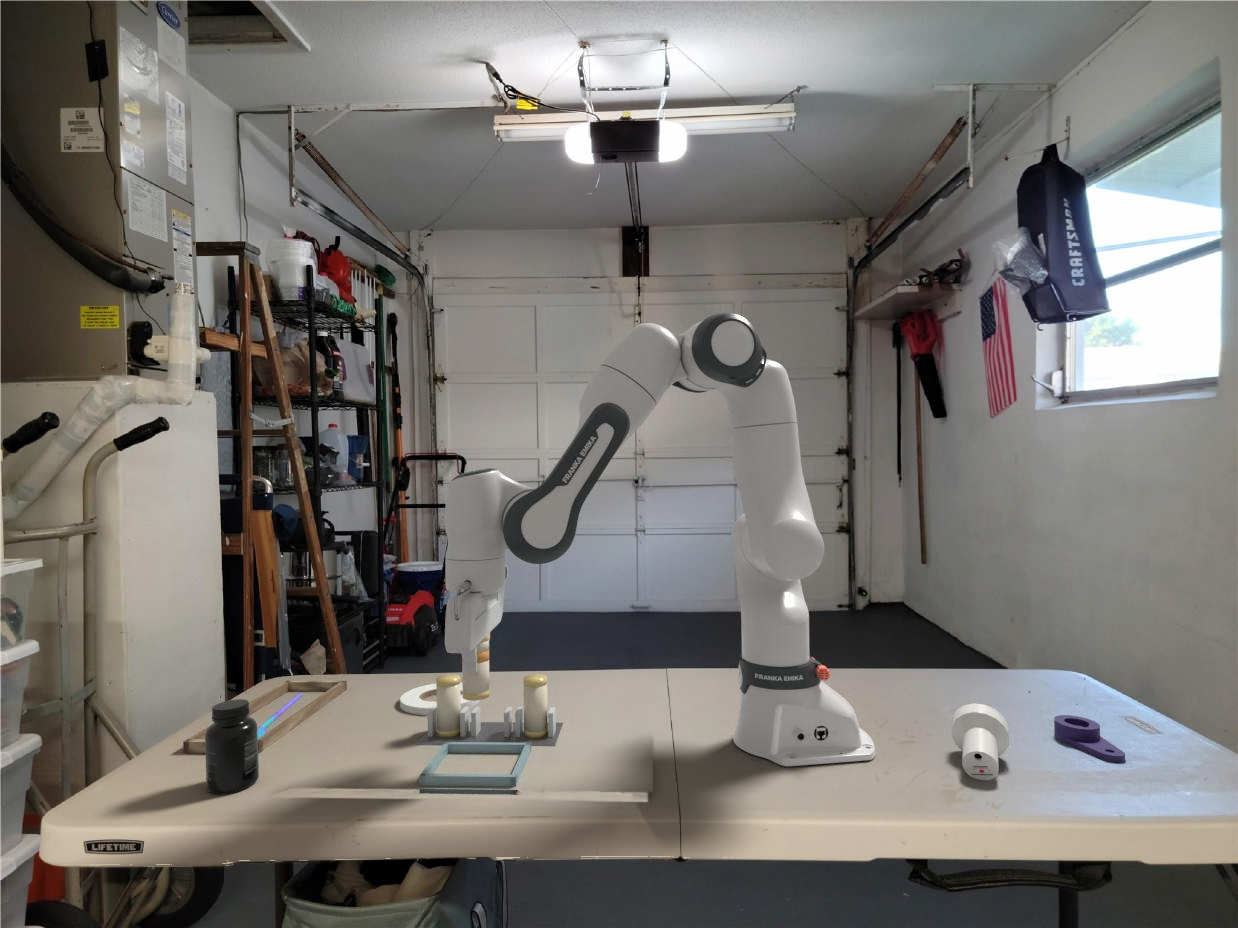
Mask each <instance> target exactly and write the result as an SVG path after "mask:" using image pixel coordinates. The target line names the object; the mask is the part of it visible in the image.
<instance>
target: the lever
mask: <svg viewBox="0 0 1238 928" xmlns="http://www.w3.org/2000/svg"><path fill="white" fill-rule="evenodd" d="M1053 721H1054V722H1053V724H1054V725H1053V726H1054V727H1053V729H1054V731H1053V732H1054V733H1053V734H1054V738H1055V739H1056V740H1057V741H1060V742H1061V743H1064V744H1065V745H1068V746H1071V747H1073V748H1075V749H1077V750H1079V751H1082V752H1084V753H1086V754H1088V755H1091V756H1093V757H1094V758H1098V759H1100V760H1103V761H1105V762H1108V763H1109V762H1110V763H1118V764H1119V763H1124V762H1125V761H1126V753H1125V751H1123V750H1122V749H1120V748H1118V747H1117V746H1116V745H1114V744H1113V743H1111V742H1110V741H1109V740H1107V739H1105V738H1103V736H1101V725H1100V724H1099V723H1098V722H1096V721H1095V720H1093V719H1090V718H1087V717H1082V716H1077V715H1068V714H1061V715H1056V716H1055V717H1054V718H1053Z"/></svg>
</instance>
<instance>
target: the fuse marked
mask: <svg viewBox="0 0 1238 928" xmlns="http://www.w3.org/2000/svg"><path fill="white" fill-rule="evenodd" d="M476 652H477V659H479V664H478V666H479V669H478V670H477V671H476V673H475V674H466V673H465V672H464V661H463V658H461V660H462V661H461V664H462V666H461V667H462V668H461V670H462V671H461V672H462V674H461V676H462V677H461V678H462V681H461V683H462V688H463V699H465V700H470V701H476V700H480V701H481V700H485V699H488V698H490V640H489V632H488V633H487V634H486V637H485V638H484V639H483V640H482V641H481V642H480V643H479V644H478V645H477V650H476Z"/></svg>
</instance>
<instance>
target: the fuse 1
mask: <svg viewBox="0 0 1238 928" xmlns="http://www.w3.org/2000/svg"><path fill="white" fill-rule="evenodd" d="M435 682H436V695H435V696H436V701H437V735H438V736H439V737H443V738H448V737H454V736H457V735H459V734H460V712H461V711H462V710H461V693H460V682H461V675H460V674H457V673H447V674H441V675H439V676H437V677H436V679H435Z"/></svg>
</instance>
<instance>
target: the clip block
mask: <svg viewBox="0 0 1238 928" xmlns="http://www.w3.org/2000/svg"><path fill="white" fill-rule="evenodd" d="M506 707H507V708H506V709H505V711H504V712H503V721H481V719H482V718H481V715H482V714H481V706H475V707H474V708H473V710H472V711H471V710H470V709H471V707H464V709H463V710H461V712H460V734H459V735H457V736H454V737H448V738H443V737H439V736H438V735H437V706H433V707H432V708H431V709H430V711H429V712H428V713H427V714H428V716H427V731H426V732H425V733H424V735H423V736H422V737H421V738H420V739H419V740H418V742H417V743H416V744H415V746H442V745H443V744H444V743H445V742H503V743H531V747H555V746H556V744H557V741H558V739H559V735H560V733H561V730H562V728H563V725H564V722H556V721H557V717H556V716H557V714H556V711H557V710H556V706H551V707H550V708H549V710H548V712H547V715H548V734H547V735H546V736H544V737H541V738H528V737H526V736H524V706H518V707H517V709H516V710H515V713H514V715H515V716H514V717H515V719H514V721H513V718H514V717H513V706H506Z"/></svg>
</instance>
